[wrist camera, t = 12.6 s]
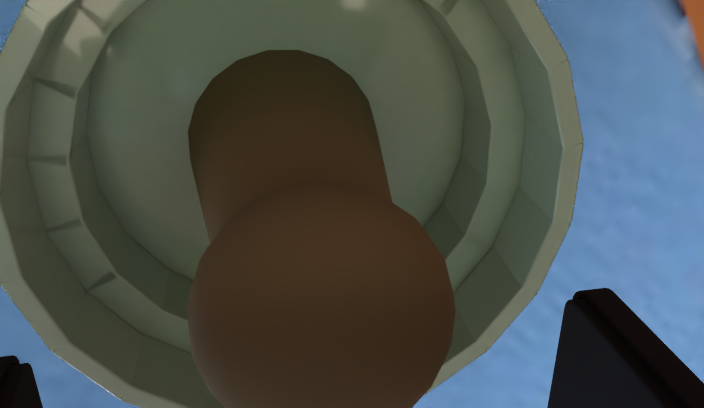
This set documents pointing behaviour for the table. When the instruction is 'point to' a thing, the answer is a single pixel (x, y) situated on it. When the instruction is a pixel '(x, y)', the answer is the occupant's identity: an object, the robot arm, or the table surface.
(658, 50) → the table surface
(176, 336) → the bowl
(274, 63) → the brown rounded tall piece
